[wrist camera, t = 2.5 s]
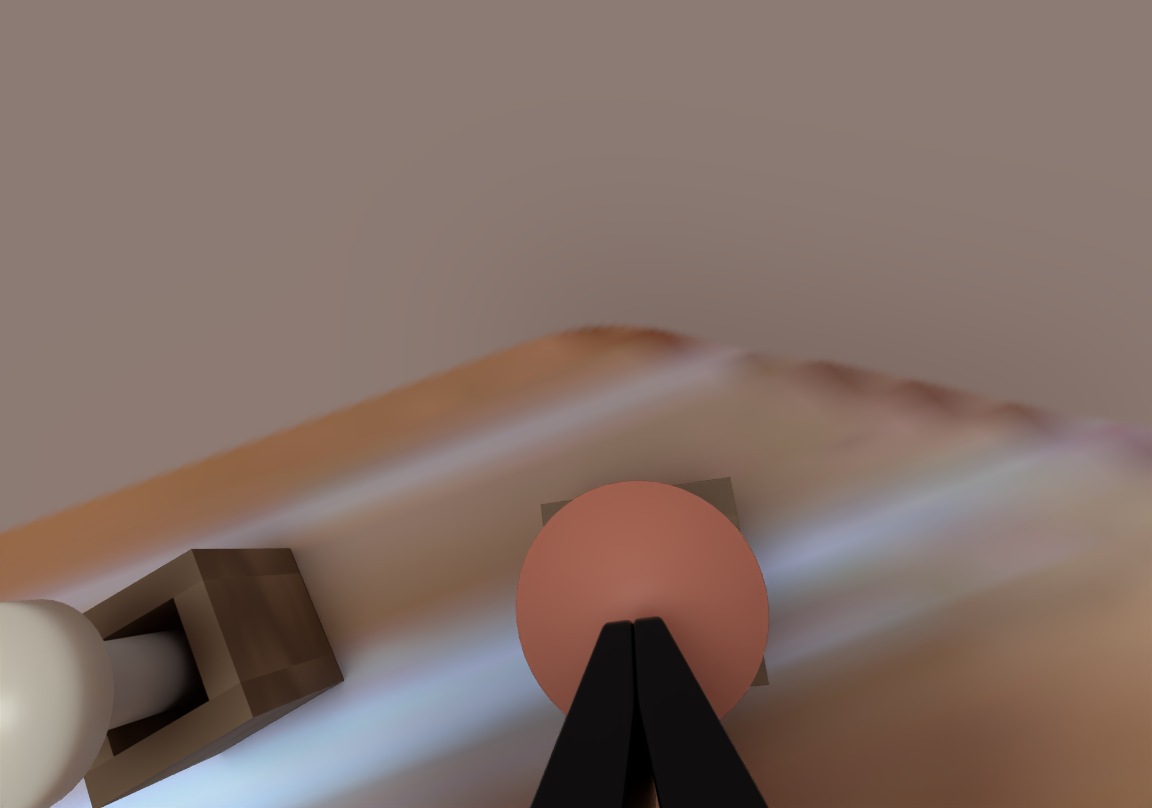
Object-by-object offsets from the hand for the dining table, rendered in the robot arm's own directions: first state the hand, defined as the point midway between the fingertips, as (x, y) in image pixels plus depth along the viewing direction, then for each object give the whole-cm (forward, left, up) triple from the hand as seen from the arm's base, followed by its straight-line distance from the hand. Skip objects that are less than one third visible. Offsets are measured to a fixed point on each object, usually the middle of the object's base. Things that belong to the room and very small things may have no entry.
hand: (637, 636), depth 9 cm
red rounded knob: (0, 0, -7) cm, 7 cm away
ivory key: (+5, +12, -7) cm, 15 cm away
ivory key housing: (+5, +12, -10) cm, 16 cm away
